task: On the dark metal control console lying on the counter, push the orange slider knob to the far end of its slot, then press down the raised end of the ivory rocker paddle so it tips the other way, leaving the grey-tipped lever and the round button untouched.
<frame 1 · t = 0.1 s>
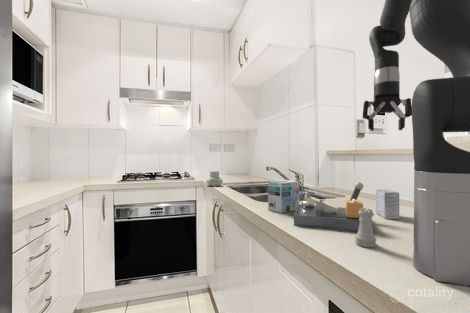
hand: (386, 130, 84), 29 cm above the table, tool pointing down, fingers open, 8 cm apart
slider knob: (354, 208, 69), point 5 cm above the table, slide at 0.0 cm
rook chess piece: (365, 245, 55), on the table
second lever: (354, 195, 78), point 8 cm above the table, hinge at 20.0°
air freshener: (214, 186, 164), on the table
rocker paddle: (320, 202, 77), point 6 cm above the table, hinge at 18.0°
medicine box: (387, 217, 82), on the table
console: (330, 221, 75), on the table
light bulb box: (283, 210, 91), on the table
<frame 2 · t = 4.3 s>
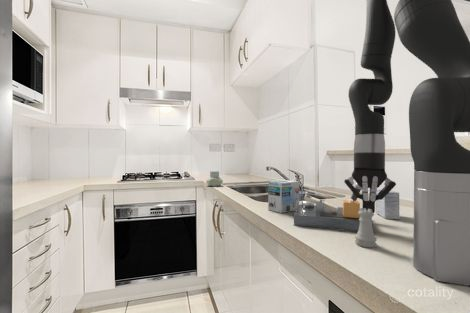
hand: (368, 214, 68), 4 cm above the table, tool pointing down, fingers closed
slider knob: (350, 207, 69), point 5 cm above the table, slide at 0.8 cm, touching gripper
everything else where it was.
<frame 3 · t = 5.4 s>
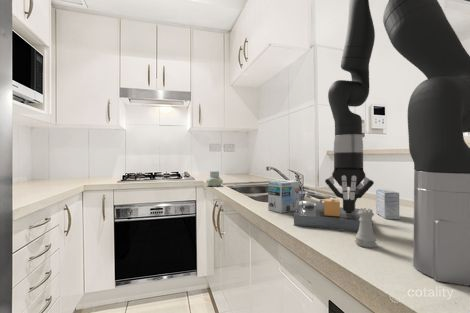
hand: (348, 212, 69), 4 cm above the table, tool pointing down, fingers closed
slider knob: (331, 206, 71), point 5 cm above the table, slide at 5.8 cm, touching console, gripper
everything else where it was.
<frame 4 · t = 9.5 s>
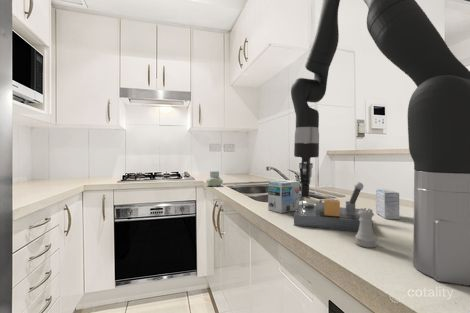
hand: (305, 196, 78), 7 cm above the table, tool pointing down, fingers closed
slider knob: (331, 206, 71), point 5 cm above the table, slide at 5.8 cm, touching console
rocker paddle: (320, 202, 77), point 6 cm above the table, hinge at 13.1°, touching gripper
everything else where it was.
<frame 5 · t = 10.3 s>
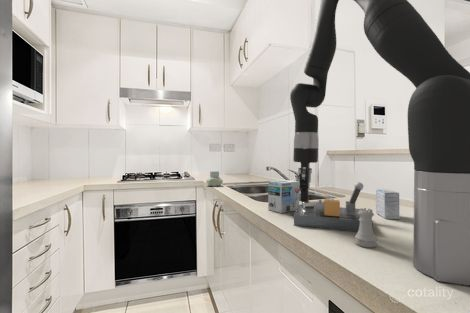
hand: (304, 201, 78), 5 cm above the table, tool pointing down, fingers closed
rocker paddle: (320, 202, 77), point 6 cm above the table, hinge at -8.5°, touching gripper
everything else where it was.
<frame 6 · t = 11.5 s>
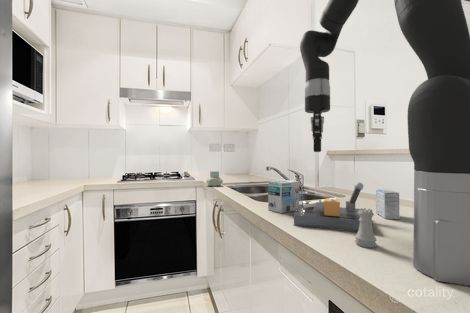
hand: (317, 151, 76), 21 cm above the table, tool pointing down, fingers closed
rocker paddle: (320, 202, 77), point 6 cm above the table, hinge at -14.2°
everything else where it was.
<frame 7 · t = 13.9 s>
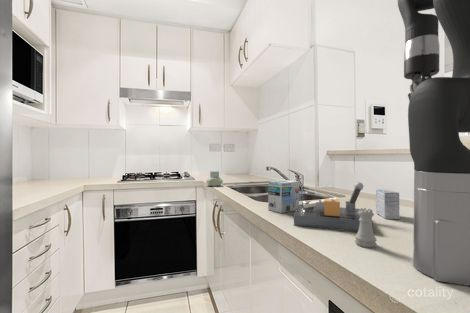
hand: (420, 122, 65), 29 cm above the table, tool pointing down, fingers closed
rocker paddle: (320, 202, 77), point 6 cm above the table, hinge at -14.8°
everything else where it was.
at the end: slider knob slide at 5.8 cm; rocker paddle at -15° (first picture: +18°); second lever at +20° (first picture: +20°) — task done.
